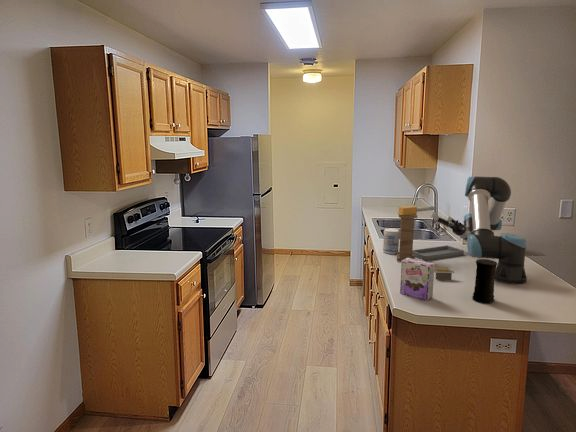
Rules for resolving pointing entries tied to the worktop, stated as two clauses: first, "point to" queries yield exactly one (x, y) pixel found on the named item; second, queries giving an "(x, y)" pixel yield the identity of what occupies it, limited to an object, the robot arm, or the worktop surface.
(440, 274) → the platform
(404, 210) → the screwdriver
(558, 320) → the worktop surface
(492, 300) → the container
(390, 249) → the supplement tub
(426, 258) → the tray
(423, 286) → the candy box
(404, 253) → the brown wooden column
